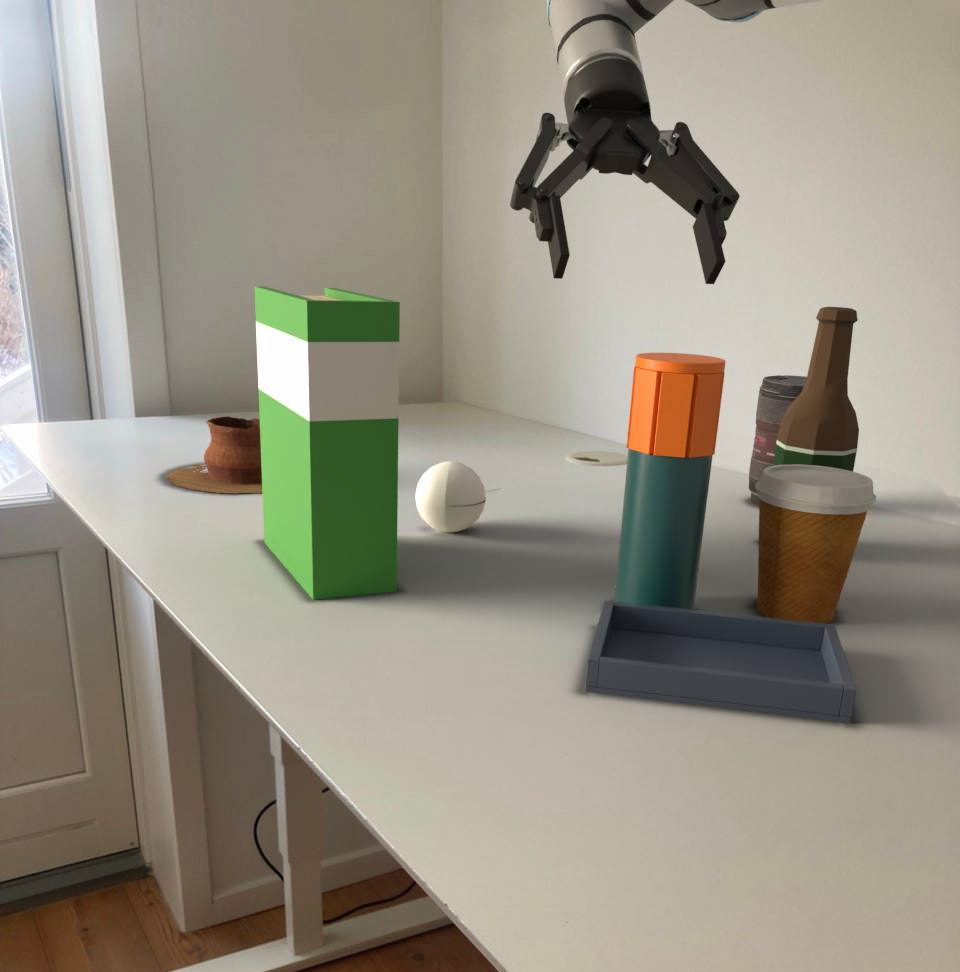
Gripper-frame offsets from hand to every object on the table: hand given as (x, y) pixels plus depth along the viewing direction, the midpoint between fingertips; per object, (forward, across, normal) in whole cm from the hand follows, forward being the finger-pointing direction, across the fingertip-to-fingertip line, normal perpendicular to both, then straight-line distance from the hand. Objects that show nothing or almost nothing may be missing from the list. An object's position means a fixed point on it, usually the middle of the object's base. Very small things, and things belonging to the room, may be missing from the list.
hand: (639, 270), depth 86 cm
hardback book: (+17, +26, -22) cm, 38 cm away
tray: (+36, -1, -2) cm, 36 cm away
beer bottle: (+14, -22, -24) cm, 36 cm away
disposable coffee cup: (+28, -13, -11) cm, 32 cm away
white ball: (+8, +12, -30) cm, 33 cm away
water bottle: (+27, 0, -11) cm, 29 cm away
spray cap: (+17, 0, -1) cm, 17 cm away
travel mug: (+2, -29, -37) cm, 47 cm away
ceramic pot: (-9, +35, -47) cm, 60 cm away
